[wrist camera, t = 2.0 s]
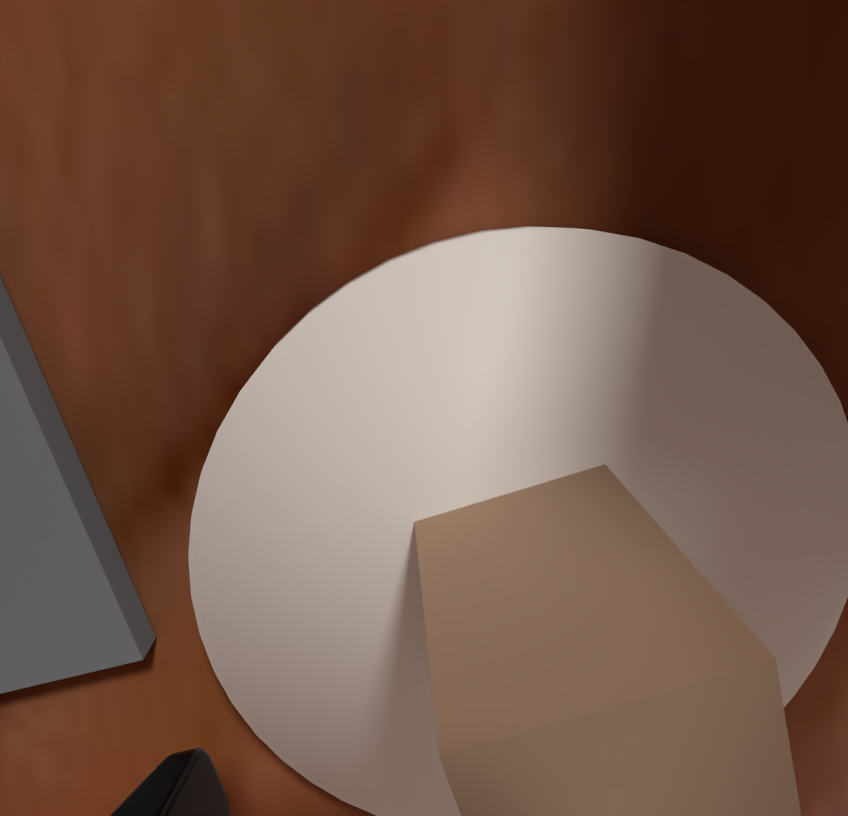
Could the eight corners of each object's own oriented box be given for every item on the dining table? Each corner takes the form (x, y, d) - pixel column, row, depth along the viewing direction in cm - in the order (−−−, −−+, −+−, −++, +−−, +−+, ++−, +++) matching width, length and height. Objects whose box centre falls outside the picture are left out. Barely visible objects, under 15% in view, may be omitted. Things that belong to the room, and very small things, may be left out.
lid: (779, 133, 10) (1250, 43, 4) (851, 701, 13) (1178, 1044, 8) (96, 346, 10) (-221, 499, 5) (328, 851, 13) (292, 1283, 8)
